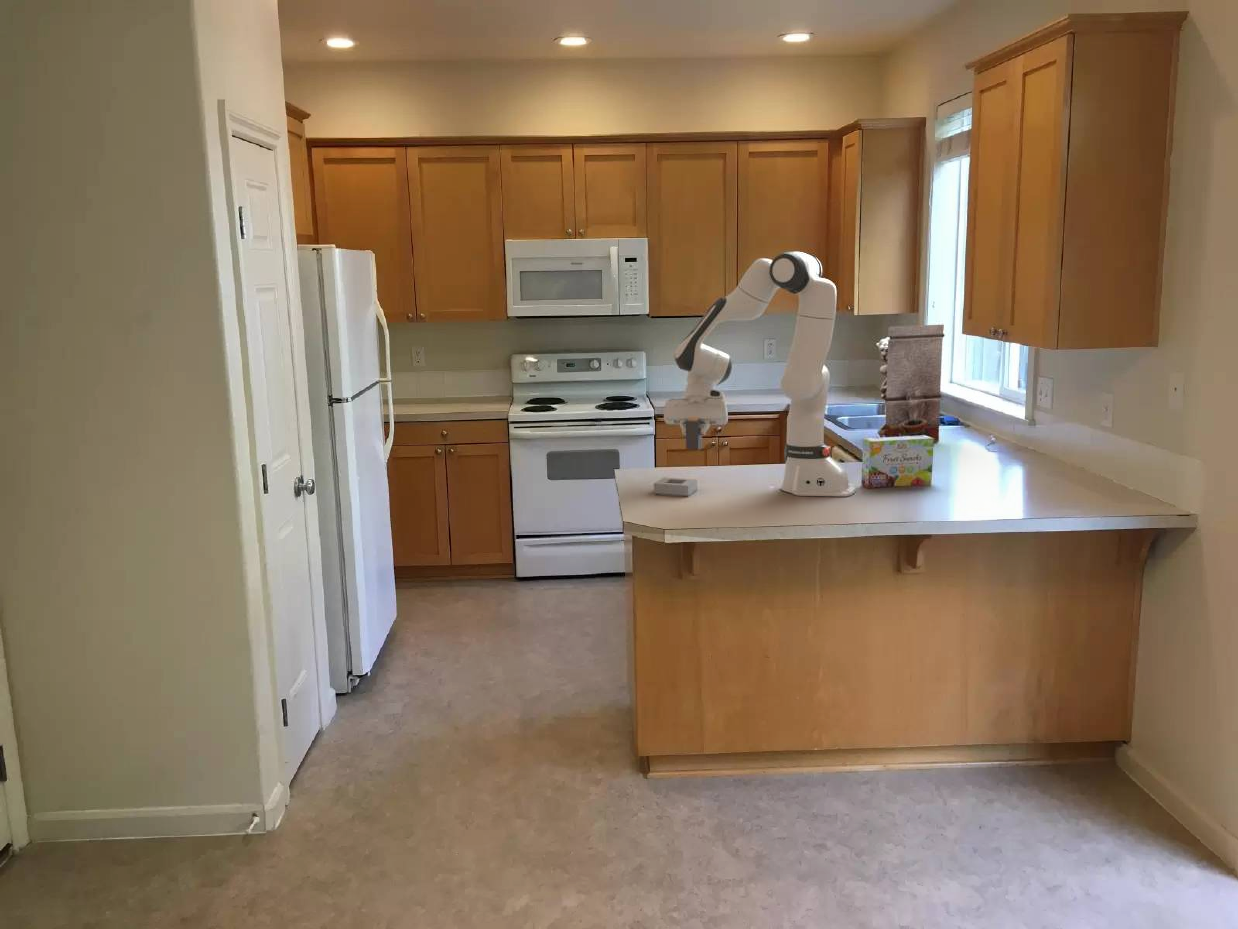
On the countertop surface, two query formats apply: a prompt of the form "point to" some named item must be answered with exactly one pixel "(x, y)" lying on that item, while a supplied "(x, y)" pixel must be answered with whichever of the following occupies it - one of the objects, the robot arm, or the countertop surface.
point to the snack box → (897, 461)
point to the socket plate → (675, 486)
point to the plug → (693, 434)
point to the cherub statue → (912, 376)
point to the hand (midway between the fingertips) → (693, 433)
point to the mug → (909, 428)
